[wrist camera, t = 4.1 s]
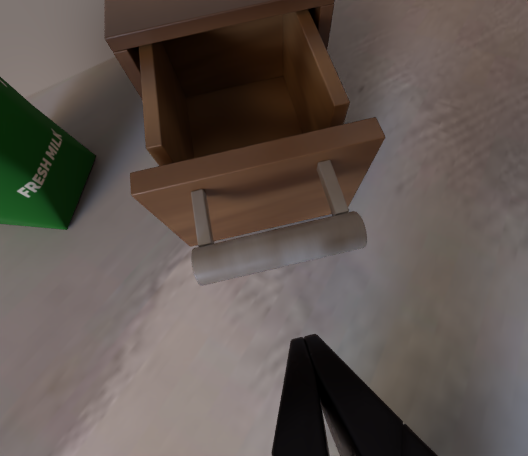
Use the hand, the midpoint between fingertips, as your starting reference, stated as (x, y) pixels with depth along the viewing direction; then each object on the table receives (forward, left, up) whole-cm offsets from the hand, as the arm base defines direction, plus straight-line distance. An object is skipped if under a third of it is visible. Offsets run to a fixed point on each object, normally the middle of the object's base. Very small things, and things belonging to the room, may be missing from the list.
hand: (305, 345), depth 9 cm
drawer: (+8, -9, -8) cm, 14 cm away
